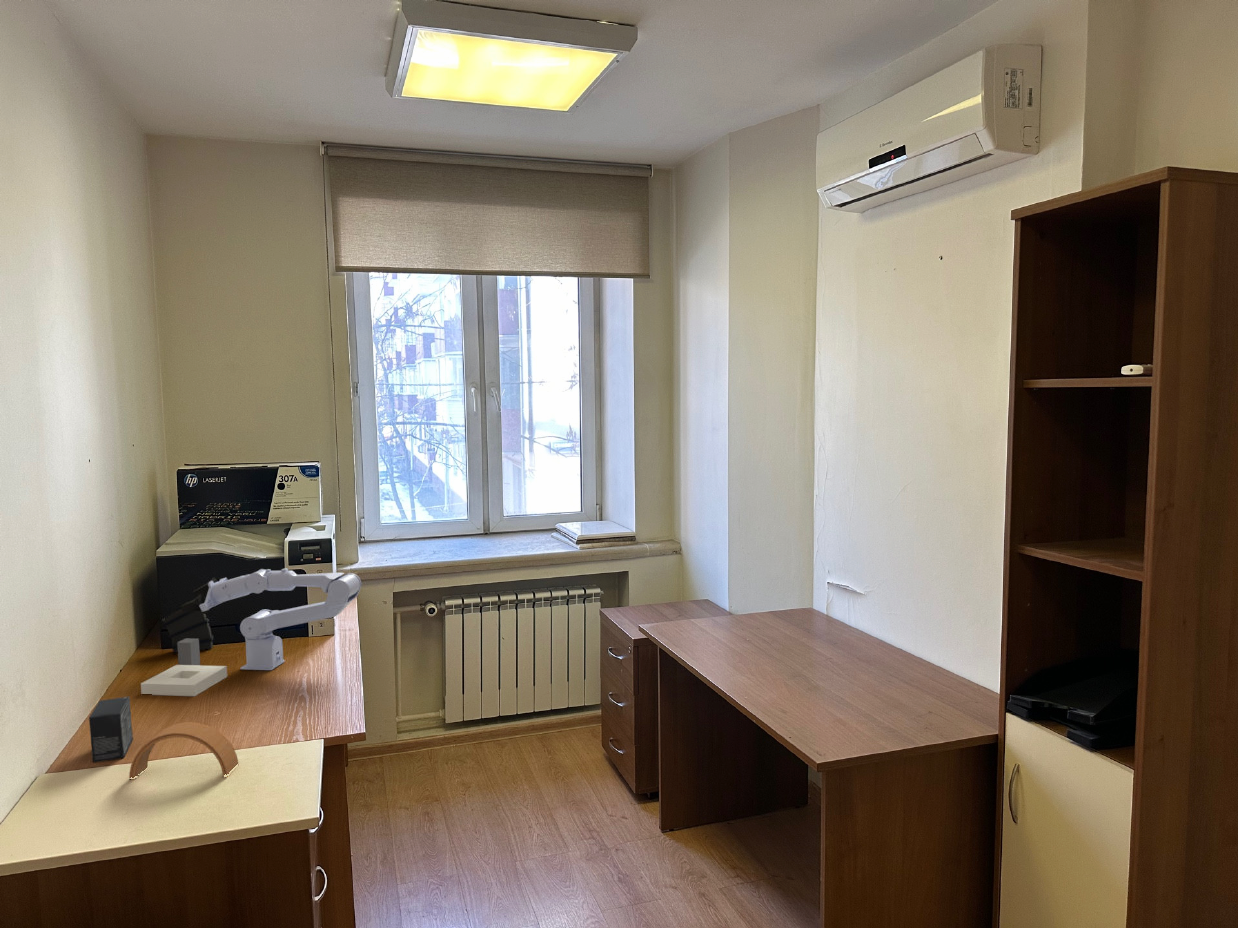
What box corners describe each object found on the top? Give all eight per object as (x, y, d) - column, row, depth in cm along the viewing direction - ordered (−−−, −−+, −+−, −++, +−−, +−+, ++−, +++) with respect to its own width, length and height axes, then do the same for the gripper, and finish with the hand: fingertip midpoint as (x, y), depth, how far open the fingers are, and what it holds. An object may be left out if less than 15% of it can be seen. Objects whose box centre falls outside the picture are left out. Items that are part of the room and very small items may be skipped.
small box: (101, 743, 191) (98, 699, 190) (133, 739, 194) (131, 695, 193) (90, 763, 181) (87, 716, 180) (124, 758, 184) (121, 712, 183)
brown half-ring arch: (227, 778, 174) (224, 732, 173) (129, 780, 173) (126, 734, 173) (238, 766, 180) (236, 721, 179) (144, 767, 179) (141, 722, 178)
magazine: (222, 643, 260) (197, 602, 257) (181, 665, 257) (154, 624, 254) (224, 639, 264) (199, 599, 261) (183, 661, 261) (157, 621, 257)
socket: (227, 676, 235) (226, 666, 235) (194, 696, 220) (194, 685, 220) (177, 674, 237) (176, 664, 237) (141, 694, 222) (140, 683, 222)
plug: (200, 665, 245) (198, 638, 244) (191, 669, 241) (190, 642, 240) (187, 664, 246) (185, 638, 245) (178, 669, 242) (177, 642, 241)
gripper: (234, 565, 248) (193, 577, 249) (214, 591, 234) (170, 604, 236) (246, 584, 250) (204, 596, 252) (226, 611, 237) (182, 624, 238)
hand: (188, 601), depth 244 cm, fingers open, 7 cm apart
